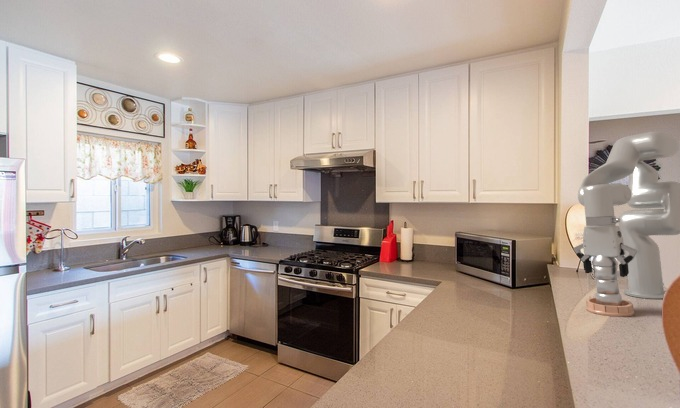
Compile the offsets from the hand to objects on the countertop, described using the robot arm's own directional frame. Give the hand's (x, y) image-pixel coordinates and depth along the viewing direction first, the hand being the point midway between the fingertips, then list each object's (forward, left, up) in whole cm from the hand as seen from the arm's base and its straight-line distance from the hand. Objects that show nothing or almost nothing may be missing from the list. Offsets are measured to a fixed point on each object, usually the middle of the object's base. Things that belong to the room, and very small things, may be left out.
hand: (605, 274), depth 106 cm
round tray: (0, 0, -12) cm, 12 cm away
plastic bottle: (0, 0, -11) cm, 11 cm away
